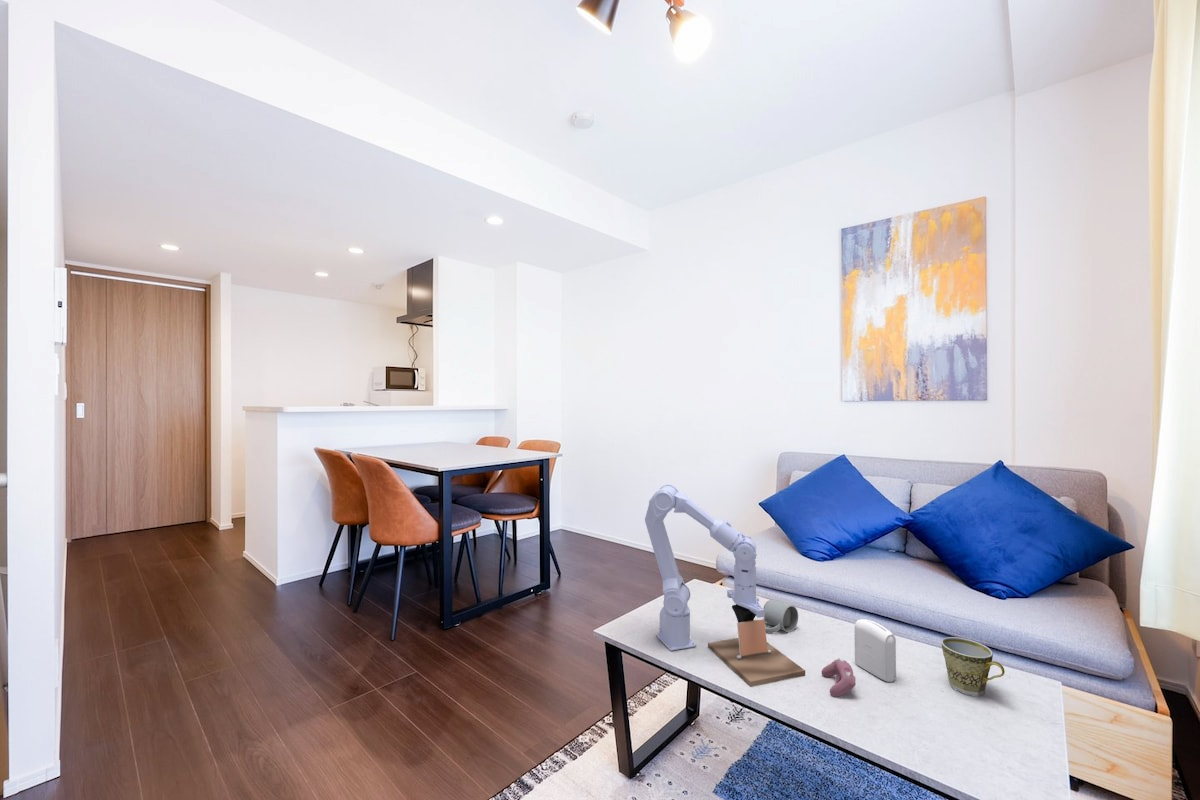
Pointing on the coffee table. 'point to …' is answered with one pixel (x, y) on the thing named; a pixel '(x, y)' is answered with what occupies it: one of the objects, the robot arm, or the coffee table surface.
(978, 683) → the ceramic cup
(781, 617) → the ceramic mug
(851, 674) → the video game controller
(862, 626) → the photo printer
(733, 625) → the coffee table surface
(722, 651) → the board
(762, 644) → the hinged panel
